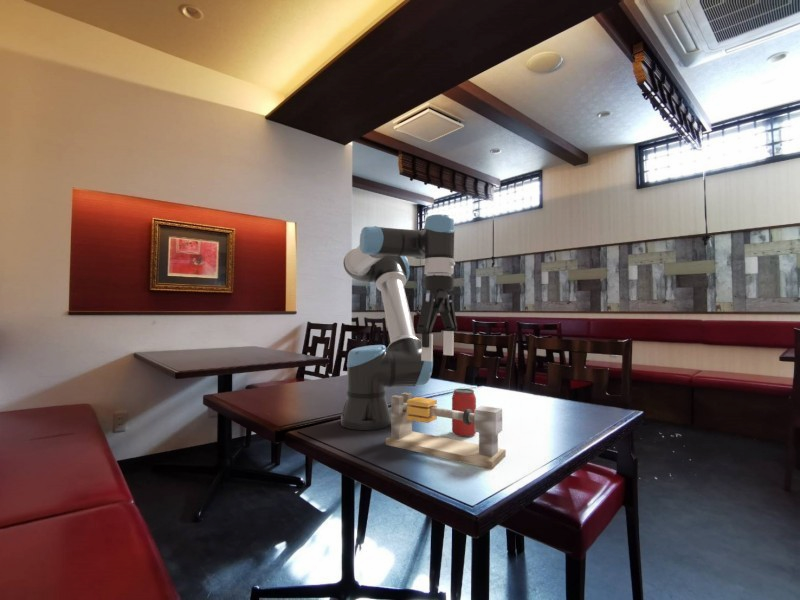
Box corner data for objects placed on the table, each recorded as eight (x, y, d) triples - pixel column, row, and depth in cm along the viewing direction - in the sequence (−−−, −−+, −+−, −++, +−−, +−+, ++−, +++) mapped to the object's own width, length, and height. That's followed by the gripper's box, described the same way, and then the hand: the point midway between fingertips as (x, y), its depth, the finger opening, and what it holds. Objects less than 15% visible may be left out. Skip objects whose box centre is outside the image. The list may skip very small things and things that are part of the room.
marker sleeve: (406, 419, 97) (406, 400, 97) (416, 415, 101) (416, 396, 101) (427, 423, 94) (427, 403, 94) (436, 418, 98) (436, 399, 98)
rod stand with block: (385, 444, 98) (385, 397, 98) (404, 435, 105) (404, 391, 106) (492, 469, 82) (492, 412, 83) (505, 456, 90) (505, 404, 91)
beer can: (447, 431, 109) (447, 389, 109) (467, 429, 111) (467, 387, 112) (460, 438, 103) (460, 393, 103) (480, 435, 105) (480, 391, 106)
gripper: (432, 270, 87) (431, 365, 86) (469, 278, 108) (468, 353, 108) (403, 272, 90) (402, 362, 90) (444, 279, 112) (443, 352, 112)
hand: (438, 357), depth 99 cm, fingers open, 13 cm apart
